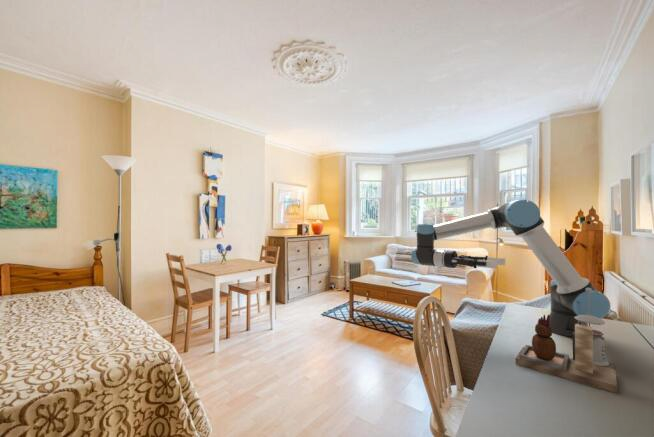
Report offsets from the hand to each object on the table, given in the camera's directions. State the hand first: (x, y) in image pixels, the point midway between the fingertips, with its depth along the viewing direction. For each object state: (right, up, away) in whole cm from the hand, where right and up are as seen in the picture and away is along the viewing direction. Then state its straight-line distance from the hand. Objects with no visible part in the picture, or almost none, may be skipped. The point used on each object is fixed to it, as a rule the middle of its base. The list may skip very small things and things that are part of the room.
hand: (501, 263), depth 112 cm
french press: (+25, -32, -11) cm, 42 cm away
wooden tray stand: (+8, -31, -20) cm, 38 cm away
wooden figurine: (+5, -30, -16) cm, 34 cm away
